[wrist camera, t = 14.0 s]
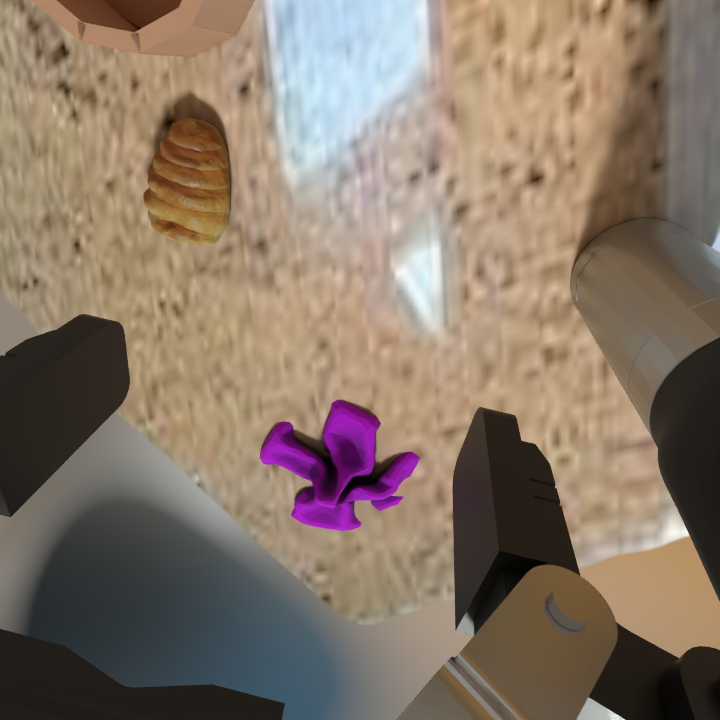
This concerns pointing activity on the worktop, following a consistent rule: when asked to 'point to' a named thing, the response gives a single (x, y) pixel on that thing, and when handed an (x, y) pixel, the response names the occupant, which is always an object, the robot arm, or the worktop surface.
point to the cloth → (338, 468)
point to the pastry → (190, 184)
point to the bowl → (150, 23)
